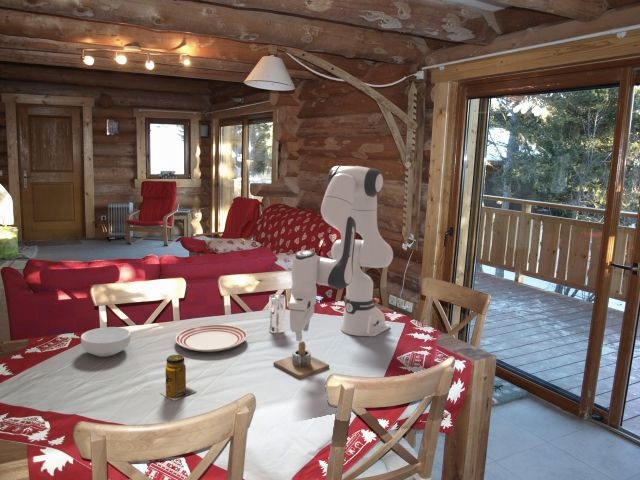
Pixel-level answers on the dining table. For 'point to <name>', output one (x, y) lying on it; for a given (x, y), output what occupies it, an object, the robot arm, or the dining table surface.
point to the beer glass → (276, 312)
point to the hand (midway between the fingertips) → (302, 335)
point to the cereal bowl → (105, 341)
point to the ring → (301, 359)
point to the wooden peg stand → (301, 371)
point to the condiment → (176, 378)
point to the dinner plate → (211, 337)
